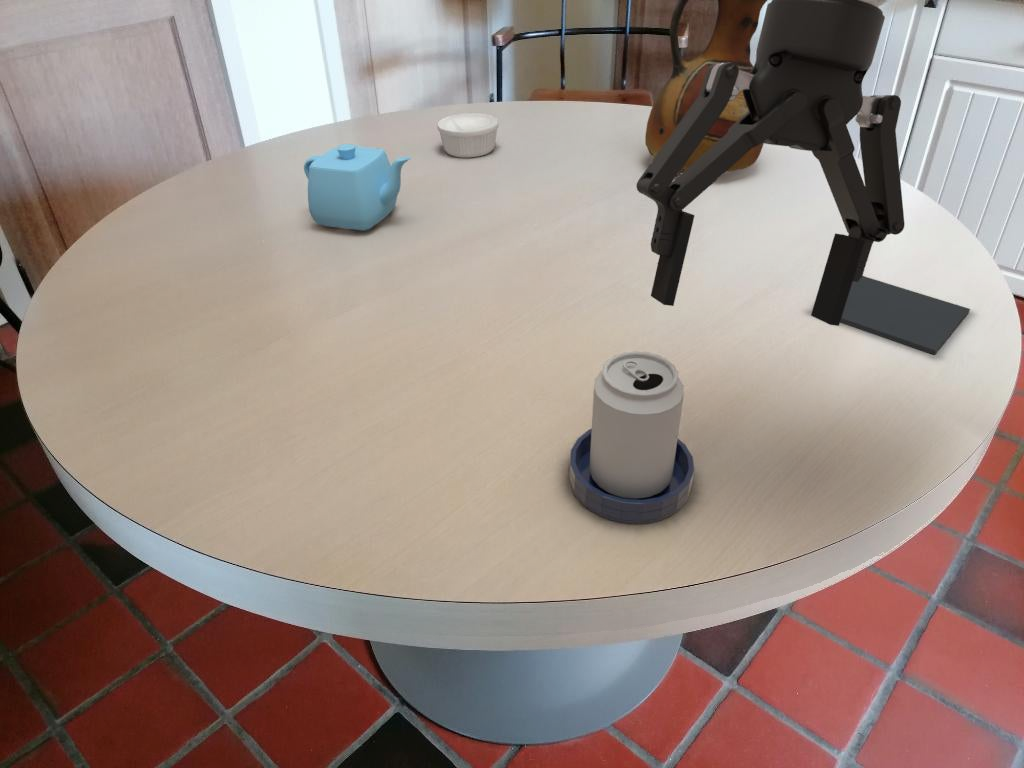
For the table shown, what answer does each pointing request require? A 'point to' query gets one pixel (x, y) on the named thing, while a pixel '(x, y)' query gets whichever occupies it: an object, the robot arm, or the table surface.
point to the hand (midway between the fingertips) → (745, 311)
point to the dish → (630, 508)
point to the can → (635, 424)
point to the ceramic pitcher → (727, 44)
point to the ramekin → (468, 134)
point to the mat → (901, 314)
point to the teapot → (352, 186)
